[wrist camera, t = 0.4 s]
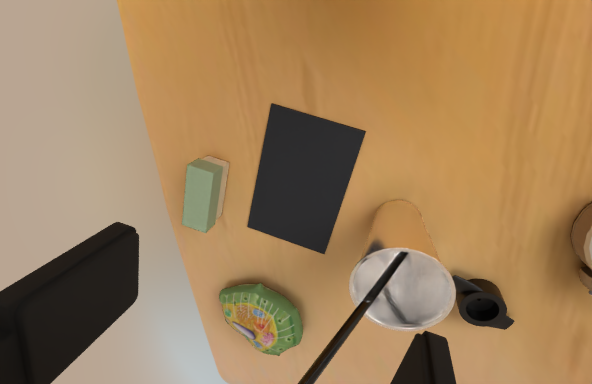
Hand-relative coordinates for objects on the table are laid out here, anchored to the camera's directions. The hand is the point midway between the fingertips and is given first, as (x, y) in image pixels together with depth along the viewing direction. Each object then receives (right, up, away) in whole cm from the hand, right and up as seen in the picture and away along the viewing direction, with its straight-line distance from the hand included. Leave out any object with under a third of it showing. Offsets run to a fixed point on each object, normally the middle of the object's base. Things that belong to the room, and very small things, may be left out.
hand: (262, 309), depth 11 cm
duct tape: (+27, -11, +37) cm, 47 cm away
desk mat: (+2, +5, +37) cm, 38 cm away
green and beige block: (-12, +5, +41) cm, 43 cm away
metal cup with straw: (+15, 0, +36) cm, 39 cm away
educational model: (-4, -17, +48) cm, 51 cm away
